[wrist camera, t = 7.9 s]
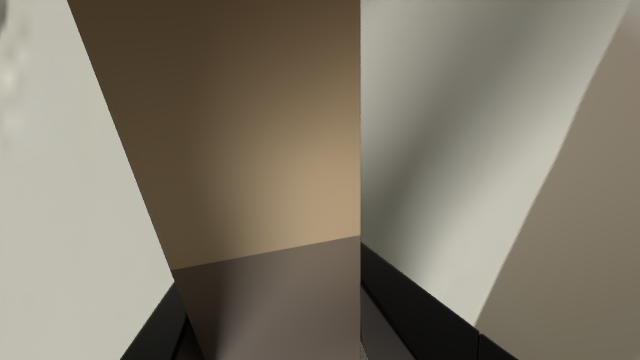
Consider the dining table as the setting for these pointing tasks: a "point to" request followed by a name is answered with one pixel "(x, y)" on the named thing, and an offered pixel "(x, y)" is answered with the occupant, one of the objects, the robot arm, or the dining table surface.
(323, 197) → the tan wooden plank
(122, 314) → the dining table surface
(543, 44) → the dining table surface
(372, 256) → the robot arm
